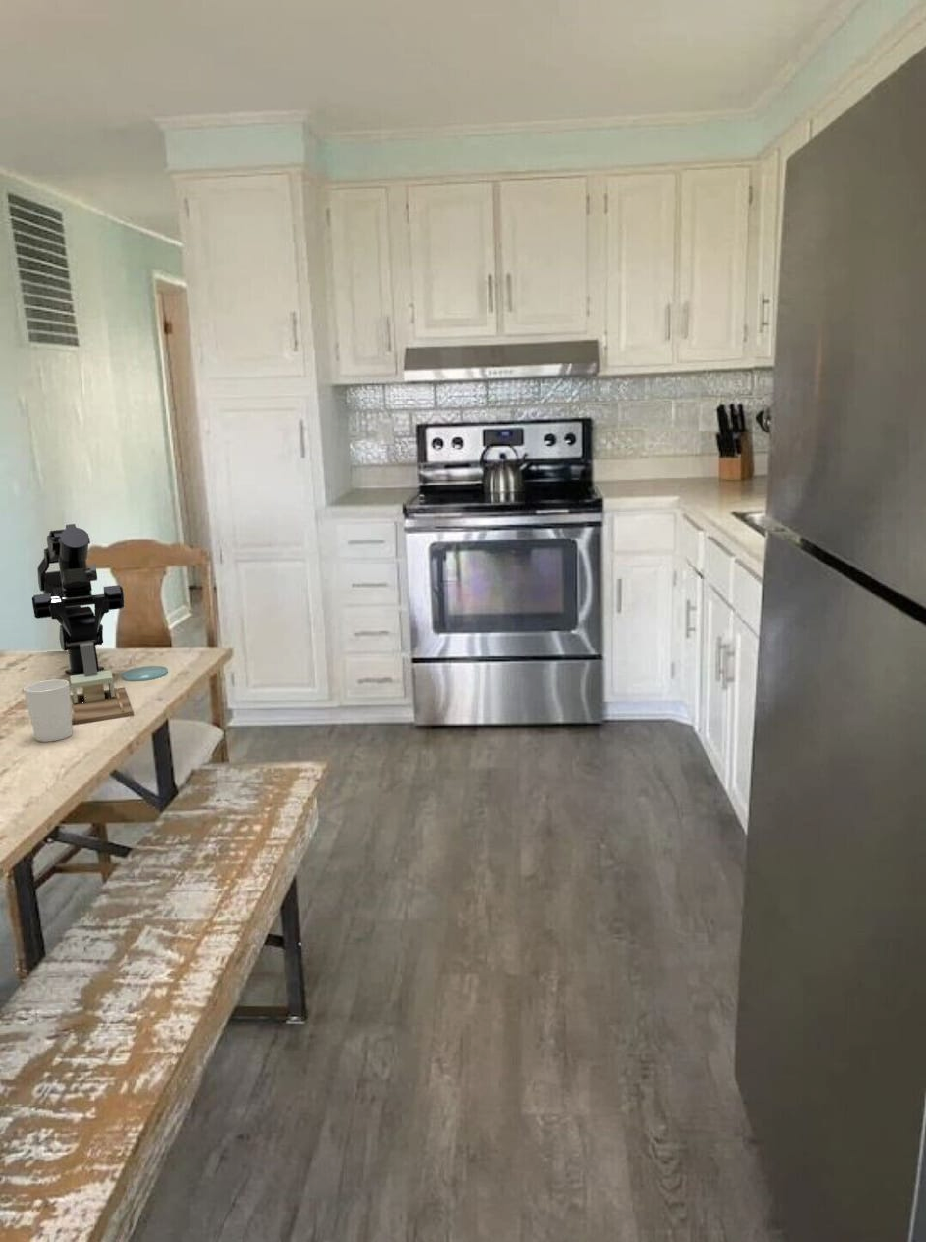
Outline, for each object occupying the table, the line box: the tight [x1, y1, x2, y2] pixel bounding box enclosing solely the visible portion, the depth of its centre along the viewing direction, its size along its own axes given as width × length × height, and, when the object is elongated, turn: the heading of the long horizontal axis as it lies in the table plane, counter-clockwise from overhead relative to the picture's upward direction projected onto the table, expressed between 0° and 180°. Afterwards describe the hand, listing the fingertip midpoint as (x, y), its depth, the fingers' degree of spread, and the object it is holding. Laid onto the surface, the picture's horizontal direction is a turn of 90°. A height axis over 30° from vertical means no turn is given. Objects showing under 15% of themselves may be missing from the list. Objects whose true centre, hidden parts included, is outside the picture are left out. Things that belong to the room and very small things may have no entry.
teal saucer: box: [121, 665, 169, 682], centre depth 225 cm, size 10×10×1 cm
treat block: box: [81, 684, 105, 702], centre depth 206 cm, size 4×4×4 cm
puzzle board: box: [70, 686, 135, 726], centre depth 201 cm, size 19×13×1 cm
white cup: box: [23, 678, 74, 743], centre depth 185 cm, size 8×8×10 cm
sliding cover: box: [69, 642, 115, 703], centre depth 205 cm, size 6×8×11 cm
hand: (83, 633), depth 213 cm, fingers open, 5 cm apart
